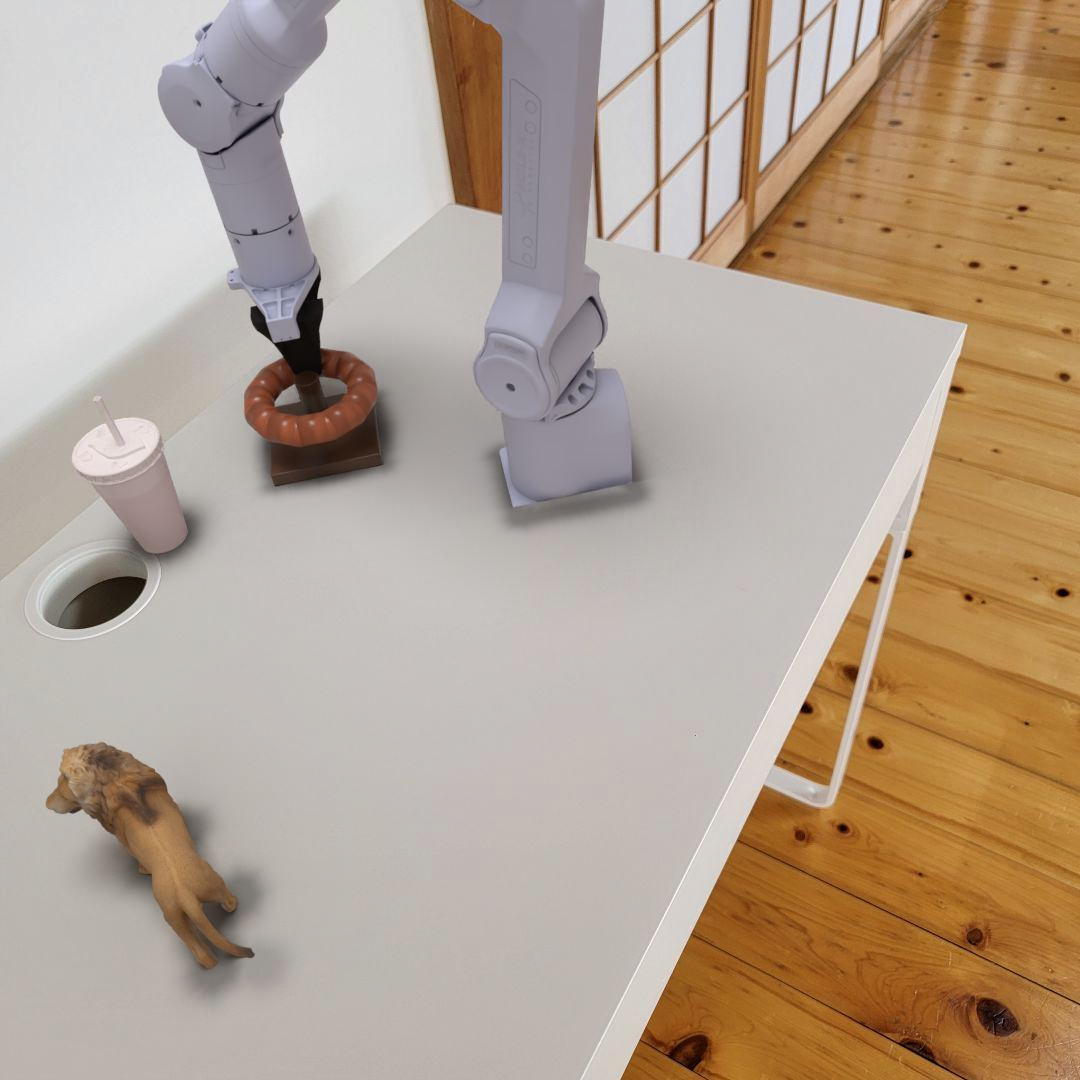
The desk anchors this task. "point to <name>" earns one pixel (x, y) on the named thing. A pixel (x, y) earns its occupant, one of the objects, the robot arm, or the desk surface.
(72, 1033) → the desk surface
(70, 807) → the lion figurine
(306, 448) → the peg stand
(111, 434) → the smoothie
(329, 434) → the ring
